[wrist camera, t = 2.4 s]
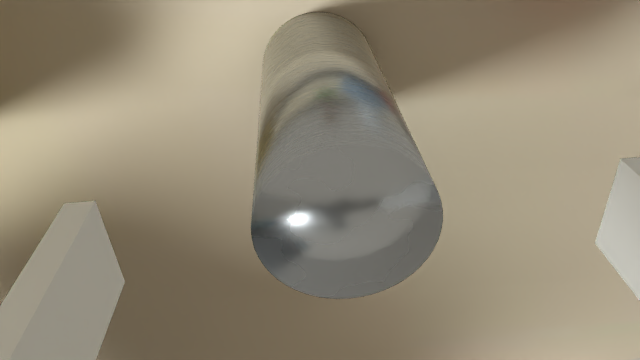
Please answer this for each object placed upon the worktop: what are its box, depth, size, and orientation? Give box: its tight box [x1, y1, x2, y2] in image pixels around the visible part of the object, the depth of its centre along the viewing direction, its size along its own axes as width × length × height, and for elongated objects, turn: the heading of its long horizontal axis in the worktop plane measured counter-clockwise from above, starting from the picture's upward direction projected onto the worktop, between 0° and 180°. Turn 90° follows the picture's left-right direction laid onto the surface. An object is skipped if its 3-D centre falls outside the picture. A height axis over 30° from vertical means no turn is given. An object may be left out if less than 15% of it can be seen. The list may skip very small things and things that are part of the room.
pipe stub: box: [251, 12, 443, 299], centre depth 18 cm, size 5×5×12 cm
